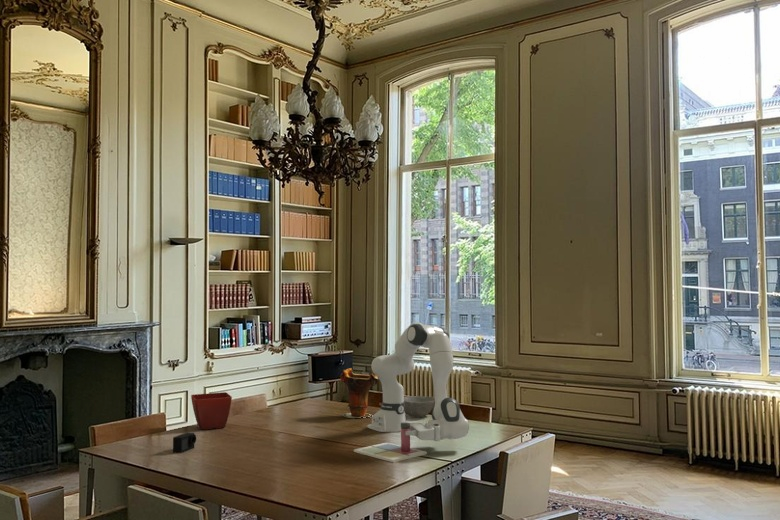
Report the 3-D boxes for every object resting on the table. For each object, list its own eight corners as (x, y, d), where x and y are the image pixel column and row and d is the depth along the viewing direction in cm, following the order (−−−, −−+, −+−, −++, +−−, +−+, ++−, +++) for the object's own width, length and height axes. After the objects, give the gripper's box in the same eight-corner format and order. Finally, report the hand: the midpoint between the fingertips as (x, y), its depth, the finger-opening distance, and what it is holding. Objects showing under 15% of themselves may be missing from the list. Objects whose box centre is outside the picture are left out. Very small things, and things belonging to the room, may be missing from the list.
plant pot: (194, 432, 331) (195, 399, 332) (190, 425, 349) (190, 394, 350) (232, 428, 339) (232, 396, 340) (226, 422, 356) (226, 392, 357)
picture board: (353, 451, 285) (353, 449, 285) (386, 444, 298) (386, 442, 299) (393, 462, 266) (393, 459, 266) (426, 454, 279) (426, 451, 280)
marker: (399, 450, 282) (398, 423, 283) (406, 449, 284) (406, 422, 285) (404, 452, 278) (404, 424, 279) (412, 451, 281) (412, 423, 281)
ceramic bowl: (400, 412, 383) (399, 395, 384) (438, 413, 380) (438, 396, 381) (395, 419, 361) (395, 401, 362) (435, 420, 358) (435, 402, 359)
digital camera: (183, 453, 285) (183, 437, 285) (172, 452, 286) (173, 437, 287) (196, 448, 295) (196, 433, 295) (186, 447, 296) (186, 432, 297)
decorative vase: (378, 419, 362) (377, 370, 363) (338, 419, 362) (338, 371, 364) (379, 413, 382) (378, 367, 384) (341, 413, 382) (341, 367, 384)
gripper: (427, 418, 295) (398, 420, 292) (440, 427, 275) (409, 428, 272) (427, 432, 295) (398, 434, 292) (440, 442, 275) (409, 443, 272)
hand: (403, 431), depth 282 cm, fingers open, 5 cm apart
